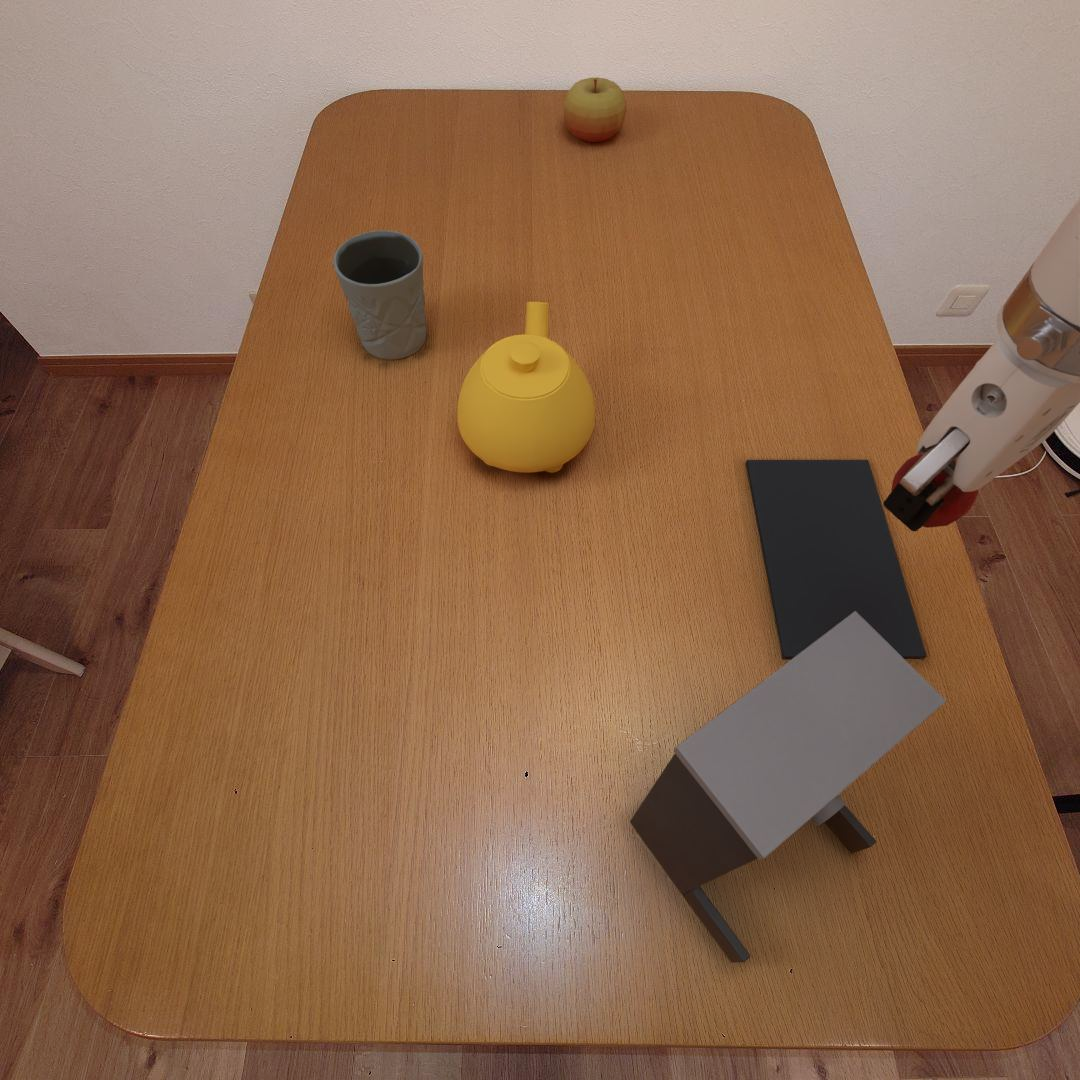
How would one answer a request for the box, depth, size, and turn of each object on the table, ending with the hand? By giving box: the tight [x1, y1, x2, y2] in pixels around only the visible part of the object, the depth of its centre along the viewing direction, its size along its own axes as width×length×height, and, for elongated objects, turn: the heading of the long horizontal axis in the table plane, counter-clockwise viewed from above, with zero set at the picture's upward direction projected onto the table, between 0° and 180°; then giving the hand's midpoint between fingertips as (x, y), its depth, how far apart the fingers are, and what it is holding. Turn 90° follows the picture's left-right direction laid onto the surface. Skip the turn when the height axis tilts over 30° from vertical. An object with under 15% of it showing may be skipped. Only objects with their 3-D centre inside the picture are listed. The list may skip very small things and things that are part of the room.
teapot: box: [456, 301, 596, 474], centre depth 79 cm, size 20×16×14 cm
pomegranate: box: [890, 453, 979, 529], centre depth 55 cm, size 6×6×8 cm
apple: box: [563, 77, 627, 143], centre depth 113 cm, size 10×10×8 cm
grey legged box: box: [629, 611, 947, 964], centre depth 51 cm, size 13×15×25 cm
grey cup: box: [332, 229, 428, 361], centre depth 88 cm, size 10×10×12 cm
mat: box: [745, 459, 927, 660], centre depth 76 cm, size 24×14×1 cm, turn 0°
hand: (930, 495), depth 56 cm, fingers closed on pomegranate, 5 cm apart
